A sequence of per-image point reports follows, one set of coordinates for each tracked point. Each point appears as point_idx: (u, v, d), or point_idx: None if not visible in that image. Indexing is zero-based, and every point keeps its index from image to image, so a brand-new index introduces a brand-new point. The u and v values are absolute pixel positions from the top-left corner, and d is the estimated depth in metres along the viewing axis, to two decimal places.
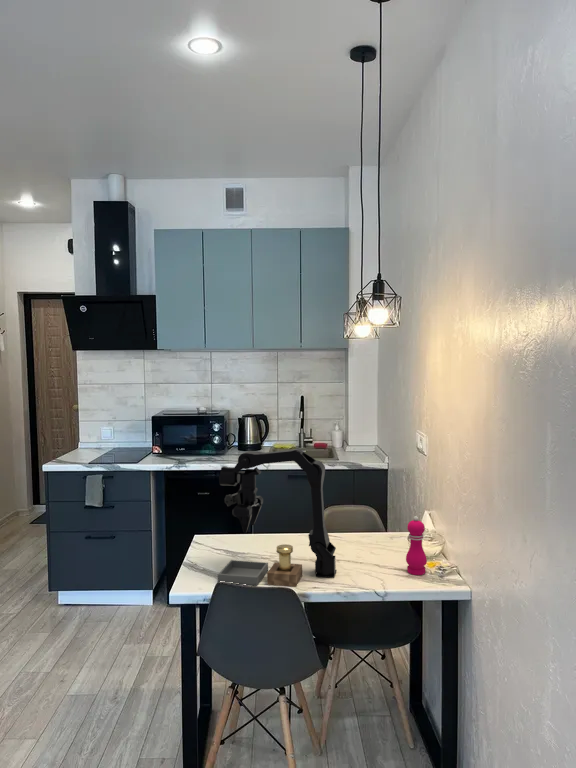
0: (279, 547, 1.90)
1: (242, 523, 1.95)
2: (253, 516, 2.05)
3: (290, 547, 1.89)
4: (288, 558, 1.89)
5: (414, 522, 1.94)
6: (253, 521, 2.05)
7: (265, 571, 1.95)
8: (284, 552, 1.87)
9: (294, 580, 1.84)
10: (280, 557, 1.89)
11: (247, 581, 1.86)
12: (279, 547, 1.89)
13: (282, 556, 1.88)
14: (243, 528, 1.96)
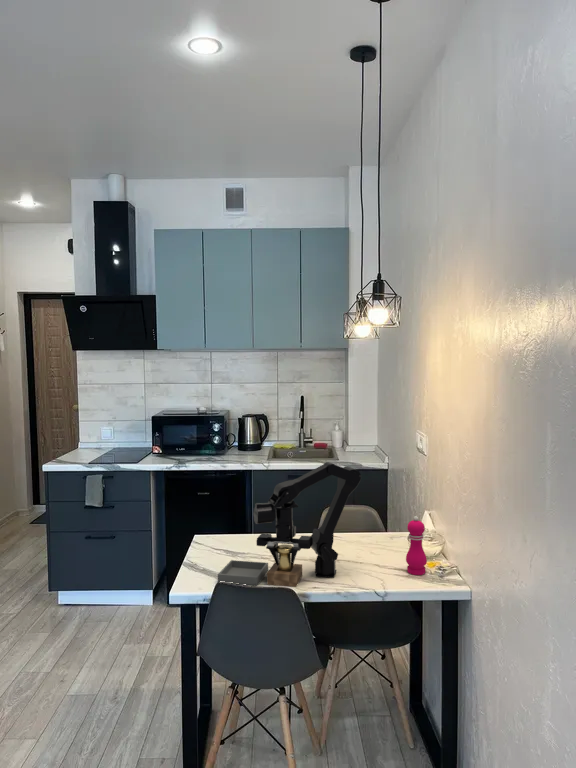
0: (279, 547, 1.90)
1: None
2: None
3: (290, 547, 1.89)
4: (288, 558, 1.88)
5: (414, 522, 1.94)
6: (291, 562, 1.89)
7: (265, 571, 1.95)
8: (284, 552, 1.87)
9: (294, 580, 1.84)
10: (280, 557, 1.89)
11: (247, 581, 1.86)
12: (279, 547, 1.89)
13: (282, 556, 1.88)
14: None
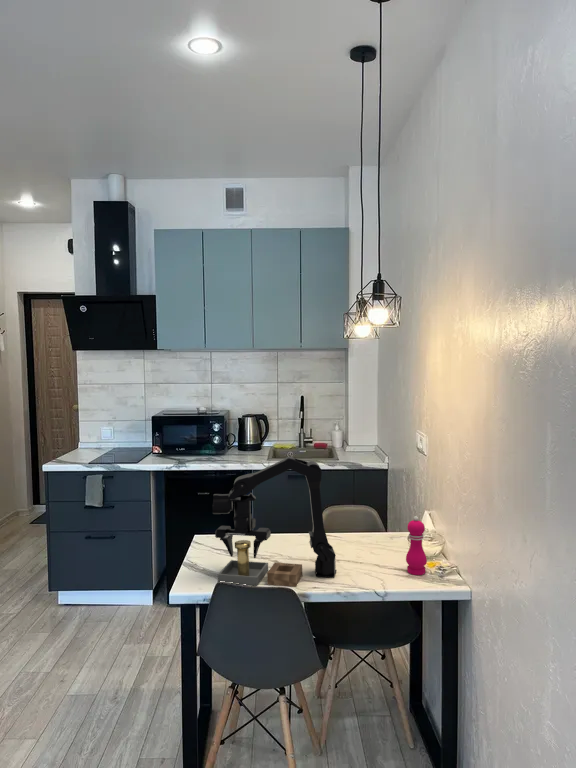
0: (237, 542, 1.93)
1: None
2: None
3: (248, 542, 1.93)
4: (246, 553, 1.92)
5: (414, 522, 1.94)
6: None
7: (265, 571, 1.95)
8: (241, 547, 1.91)
9: (294, 580, 1.84)
10: (238, 552, 1.92)
11: (247, 581, 1.86)
12: (237, 543, 1.93)
13: (240, 552, 1.92)
14: None
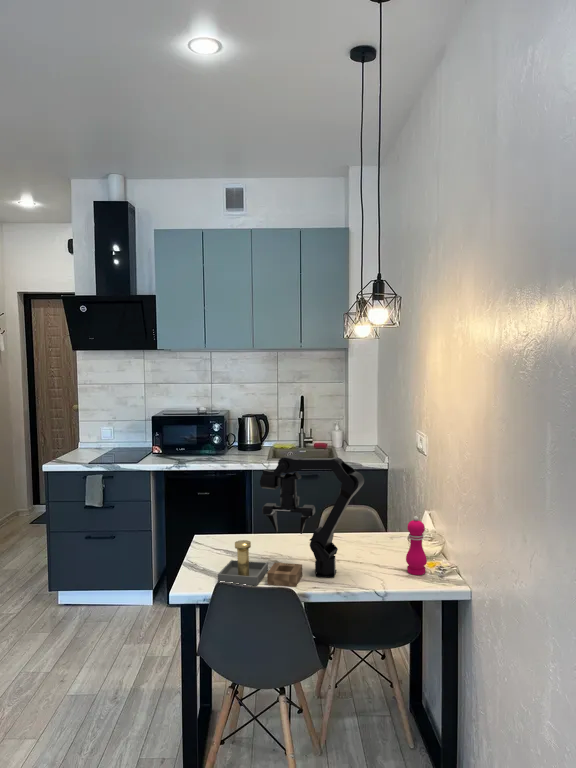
0: (237, 543, 1.93)
1: None
2: (301, 525, 1.99)
3: (248, 543, 1.93)
4: (246, 553, 1.92)
5: (414, 522, 1.94)
6: None
7: (265, 571, 1.95)
8: (241, 547, 1.91)
9: (294, 580, 1.84)
10: (238, 552, 1.92)
11: (247, 581, 1.86)
12: (237, 543, 1.93)
13: (240, 552, 1.92)
14: None
